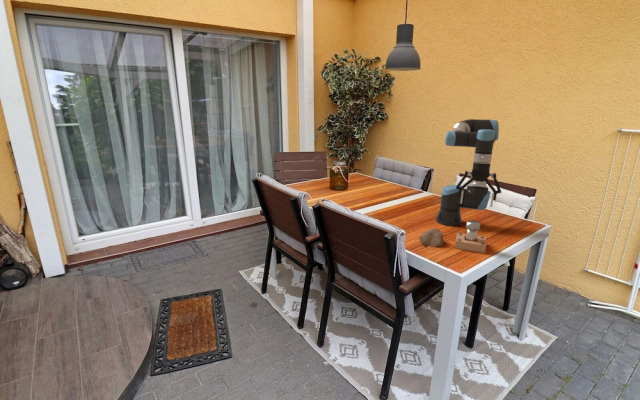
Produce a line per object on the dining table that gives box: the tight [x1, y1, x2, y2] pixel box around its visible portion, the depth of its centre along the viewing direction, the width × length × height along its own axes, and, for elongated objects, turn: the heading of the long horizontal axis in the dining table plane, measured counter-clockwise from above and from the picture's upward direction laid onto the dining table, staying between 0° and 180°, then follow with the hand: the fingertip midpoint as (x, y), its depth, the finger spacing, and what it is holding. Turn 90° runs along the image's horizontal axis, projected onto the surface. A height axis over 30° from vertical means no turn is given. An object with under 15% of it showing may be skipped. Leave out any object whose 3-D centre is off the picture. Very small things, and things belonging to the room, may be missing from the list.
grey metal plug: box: [465, 219, 481, 242], centre depth 169 cm, size 6×6×13 cm
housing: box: [454, 232, 487, 254], centre depth 170 cm, size 14×12×6 cm
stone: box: [418, 228, 444, 248], centre depth 175 cm, size 12×9×10 cm
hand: (475, 204), depth 165 cm, fingers open, 13 cm apart
